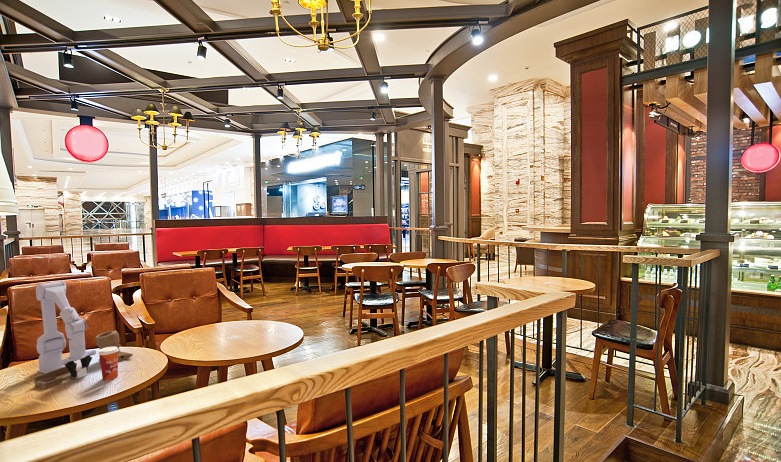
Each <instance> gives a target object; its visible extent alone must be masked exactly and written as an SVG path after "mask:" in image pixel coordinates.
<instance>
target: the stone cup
mask: <svg viewBox="0 0 781 462" xmlns="http://www.w3.org/2000/svg"><path fill="white" fill-rule="evenodd" d="M94 339H95V340H94V341H95V343H96V346H97V347H98V349H99V351H100V350H101V349H103V348H107V347H117V348H118V349H119V351H118V362H121V361H123V360H124V361H126V360H129V359H130V358H131V357H132V356H133V355H134V354H133V353H130V352H126V351H120V341H121V340H120V335H119V332H118V331H117V330H108V331H105V332H102V333H99V334H97V335H96V336H95V338H94ZM124 361H123V362H124Z"/></svg>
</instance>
